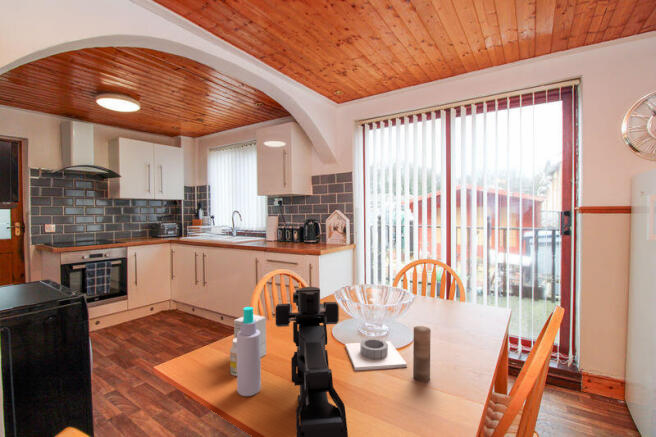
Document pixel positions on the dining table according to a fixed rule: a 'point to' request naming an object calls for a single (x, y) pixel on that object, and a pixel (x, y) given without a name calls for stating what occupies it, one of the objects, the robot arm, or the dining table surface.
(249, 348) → the spray bottle
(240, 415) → the dining table surface
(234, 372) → the supplement bottle
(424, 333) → the walnut shaft
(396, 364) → the socket base plate
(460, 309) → the dining table surface
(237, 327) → the supplement box
